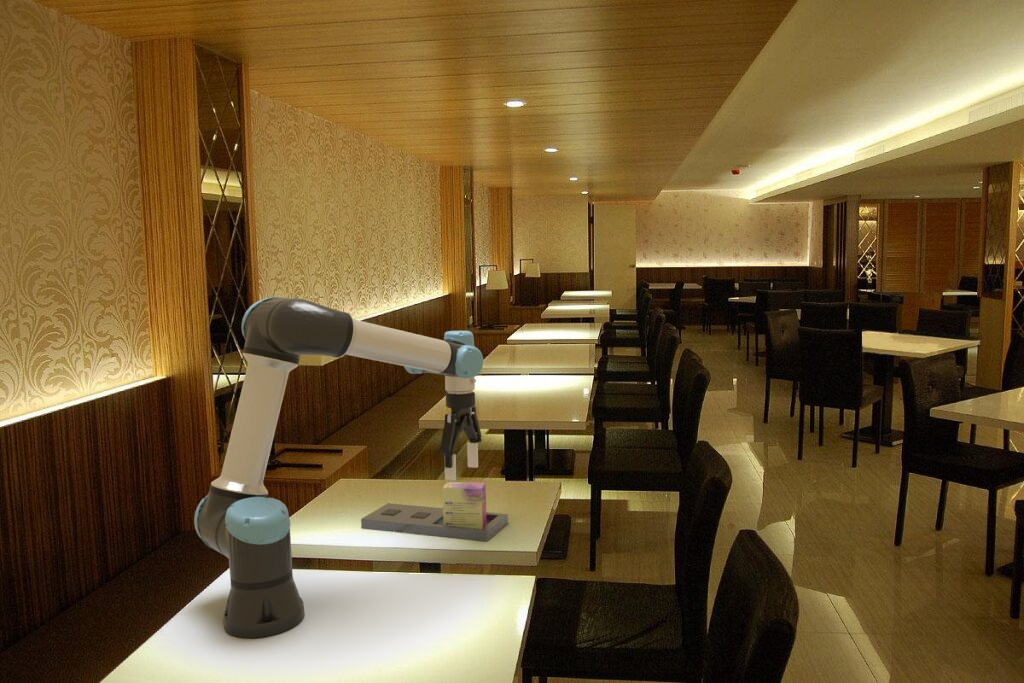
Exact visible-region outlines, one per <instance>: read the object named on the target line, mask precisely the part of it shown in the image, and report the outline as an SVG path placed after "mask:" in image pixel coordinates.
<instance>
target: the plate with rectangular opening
mask: <svg viewBox="0 0 1024 683" xmlns="http://www.w3.org/2000/svg"><path fill="white" fill-rule="evenodd" d="M486 517H487V525H486V526H485V527H484V528H482V529H477V528H467V527H457V526H447V525H444V523H443V507H433V506H422V505H413V504H412V505H411V504H410V505H409V504H401V503H391V502H387V503H386V504H383V506H381V507H379V508H377V509H376V510H374V511H373V512H370V513H369V514H367V515H365V516H364V517H362V518H361V519H360V524H361V526H360V527H361V529H365V530H368V529H369V530H375V531H376V530H377V531H385V532H393V531H395V533H403V532H404V533H405V532H406V533H405V534H412V533H414V535H421V534H423V535H422V536H432V537H440V538H441V537H443V538H450V539H451V538H452V539H460V540H461V539H462V540H468V541H469V540H470V541H479V542H488V541H490V539H492V538H493V537H494V536H495V535H497V533H499V532H500V531H501V530H503V529H504V527H506V526H507V525H508V524H509V515H508V513H500V512H499V513H498V512H487V511H486Z"/></svg>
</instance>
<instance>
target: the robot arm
mask: <svg viewBox="0 0 1024 683" xmlns="http://www.w3.org/2000/svg"><path fill="white" fill-rule="evenodd" d="M241 333H242V336H243V338H244V340H245V342H244V346H243V351H242V356H243V358H244V359H245V360H246V362H247V367H246V372H245V373H244V374H245V375H244V378H243V383H242V387H241V390H240V391H241V392H240V395H239V396H240V397H239V399H238V404H237V408H236V411H235V416H234V421H233V425H232V427H231V428H232V429H231V433H230V437H229V441H228V446H227V449H226V453H225V458H224V461H223V464H222V470H221V473H220V476H219V477H217V478H216V479H214V480H213V481H211V483H210V486H209V490H208V494H207V495H206V496H205V497H204V498H202V499H201V500H200V502H199V504H198V505H197V507H196V510H195V511H194V519H193V520H194V521H193V522H194V528H195V531H196V534H197V536H198V537H199V538H200V539H201V541H202V542H204V544H205V545H206V546H207V547H208V548H210V549H211V550H215V551H216V552H217V553H220V554H221V555H223V556H224V557H226V558H227V559H228V566H229V577H230V589H229V590H230V591H229V595H228V598H227V602H226V606H225V610H224V613H223V627H224V631H225V632H226V633H227V634H229V635H231V636H233V637H237V638H238V637H239V638H244V639H252V638H256V639H257V638H263V637H270V636H274V635H277V634H280V633H284V632H286V631H288V630H290V629H292V628H295V627H296V626H297V625H299V624H300V623H301V622H302V621H303V620H304V617H305V607H304V606H305V605H304V601H303V599H302V597H301V596H300V593H299V590H298V587H297V585H296V582H295V580H294V575H293V561H292V560H293V557H292V556H293V555H292V542H291V518H290V516H289V515H290V514H289V510H288V509H289V508H288V507H287V506H286V504H285V503H283V502H282V501H281V500H279V499H276V498H273V497H268V494H269V491H268V490H267V488H266V486H265V485H264V479H265V475H266V471H267V466H268V462H269V458H270V454H271V450H272V446H273V441H274V438H275V433H276V428H277V424H278V420H279V416H280V412H281V408H282V403H283V400H284V395H285V392H286V388H287V387H286V386H287V382H288V378H289V373H290V372H291V371H292V370H294V369H296V368H297V367H298V366H299V363H300V359H301V356H322V357H323V356H325V357H331V358H337V359H338V358H343V357H345V355H347V356H352V357H357V358H361V359H368V360H371V361H377V362H378V361H379V362H381V363H382V362H383V363H387V364H392V365H397V366H402V367H403V368H404V369H405V370H406V372H407V373H409V374H411V375H412V374H413V375H415V374H419V375H421V374H425V373H426V374H428V373H429V374H435V375H436V374H437V375H441V376H442V375H443V376H444V380H445V383H444V384H445V385H444V386H445V387H444V388H445V392H446V393H445V406H446V408H450V414H448V413H445V415H444V424H443V431H442V436H441V441H440V445H439V447H440V448H439V454H440V455H444V480H445V481H451V482H456V481H457V465H456V464H457V463H456V462H457V460H456V458H457V457H456V456H457V454H456V453H455V450H456V446H457V445H458V444H457V443H458V440H459V438H460V433H461V432H462V431H464V433H465V436H466V437H467V440H468V442H467V443H466V444H467V445H466V446H467V449H466V450H467V454H466V455H467V468H474V469H475V468H476V469H478V468H479V443H481V442H482V437H483V436H482V432H481V428H480V424H479V420H478V416H477V408H476V393H475V391H474V390H475V389H476V388H475V387H476V382H477V379H475V378H476V376H478V375H479V374H480V372H482V369H483V366H484V356H483V354H482V352H481V350H480V349H479V348H477V347H476V346H475V340H474V339H475V338H474V334H473V332H472V331H469V330H449V331H445V332H444V335H443V336H444V337H443V340H442V339H440V338H434V337H430V336H426V335H423V334H418V333H417V334H416V333H413V332H410V331H409V332H408V331H405V330H401V329H396V328H391V327H387V326H383V325H380V324H376V323H370V322H366V321H362V320H358V319H356V318H355V319H354V318H353V315H351V314H350V313H349V312H345V311H342V310H337V309H334V308H332V307H329V306H325V305H323V304H320V303H316V302H314V301H311V300H307V299H305V298H298V297H297V298H296V297H295V298H290V297H279V296H274V297H273V296H272V297H267V298H263V299H260V300H258V301H255V303H253V304H251V305H250V306H249V308H248V309H247V310H246V311H245V312H244V315H243V317H242V321H241Z"/></svg>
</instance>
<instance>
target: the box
mask: <svg viewBox="0 0 1024 683" xmlns="http://www.w3.org/2000/svg"><path fill="white" fill-rule="evenodd" d="M486 484H487V483H486V482H471V481H470V482H467V481H466V482H460V481H458V482H457V481H447V482H445V484H444V486H443V487H442V508H443V523H444V525H447V526H457V527H467V528H477V529H482V528H484V527H485V526H486V525H487V524H488V523H487V517H486V512H487V490H486V489H487V488H486V487H487V485H486Z"/></svg>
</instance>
